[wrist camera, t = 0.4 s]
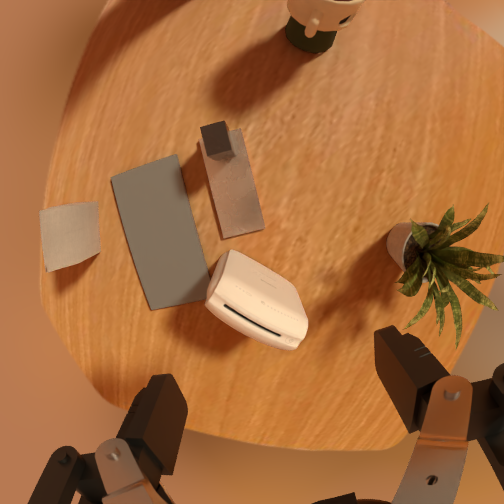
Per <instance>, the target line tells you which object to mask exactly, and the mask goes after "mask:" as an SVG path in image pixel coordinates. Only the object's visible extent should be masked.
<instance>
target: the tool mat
mask: <svg viewBox="0 0 504 504" xmlns="http://www.w3.org/2000/svg"><path fill="white" fill-rule="evenodd" d="M111 180H112V185H113V189H114V193H115V197H116V201H117V205H118V208H119V212H120V216H121V219H122V223H123V227H124V230H125V234H126V237H127V240H128V244H129V247H130V250H131V253H132V256H133V260H134V263H135V266H136V269H137V272H138V275H139V278H140V280H141V283H142V286H143V289H144V292H145V295H146V297H147V300H148V303H149V305H150V308H151V310H155V309H160V308H165V307H170V306H175V305H180V304H185V303H190V302H195V301H200V300H205V299H207V289H208V286H209V283H210V281H211V278H210V275H209V272H208V268H207V265H206V261H205V258H204V254H203V251H202V247H201V244H200V240H199V237H198V233H197V230H196V226H195V222H194V219H193V215H192V211H191V207H190V204H189V200H188V196H187V192H186V188H185V184H184V180H183V177H182V173H181V169H180V164H179V160H178V156H177V154H175V155H172V156H169V157H166V158H163V159H160V160H157V161H154V162H151V163H148V164H145V165H142V166H139V167H137V168H134V169H131V170H129V171H126V172H123V173H121V174H118V175H115V176H113V177H111Z"/></svg>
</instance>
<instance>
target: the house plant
mask: <svg viewBox="0 0 504 504" xmlns="http://www.w3.org/2000/svg"><path fill="white" fill-rule="evenodd" d="M488 204H489V203H488ZM488 204H487V205H486V207H485V208H484V209H483V211H482V212H481V213H480V214H479V215H478V216H477V217H476V218H475V219H474V220H473V221H472V222H471V223H469V224H468V225H467V226H466V227H464V228H463V229H462V230H460V231H458V232H456V233H455V234H453V235H451V236H450V234H451V232H453V231H455V230H456V229H458V228H460V227H462V226H464V225H465V224H467V223H468V222H469V221H470V220H471V219H467V220H465V221H463V222H458V223H454V224H452V223H453V221H454V206H453V207H451V208H450V209H449V210H448V211H447V212H446V213H445V215H444V217H443V219H442V220H441V223H440V225H437V224H435V223H427V222H424V223H415V222H413V221H412V220H411V222H412V223H400V224H397V225H396V226H394V227H393V229H392V230H391V232H390V233H389V235H388V238H387V243H386V245H387V250H388V253H389V255H390V256H391V257H392V258H393V259H394V261H395V262H396V263H397V264H398V265H399V267H400V268H401V269H402V270H403V271H404V274H403V275H402V277H401V278H400V279H399V280H398V281H397V282H395V283H403V284H404V285H403V287H402V288H401V289H399V290H397V291H399V292H401V293H402V294H404V295H406V296H408V297H412V296H415V295H416V294H417V293H418V291H419V289H420V287H421V285H422V283H424V282H428V281H429V288H428V293H427V297H426V299H425V301H424V303H423V305H422V307H421V309H420V311H419V312H418V314H417V315H416V316H415V317H414V318H413V319H412V320H411V321H410V322H409V323H408V324H407V326H406V327H405V328H404V329H406V328H408V327H410V326H411V325H413V324H415V323H416V322H417V321H419V320H420V319H421V318H422V317H423V316H424V315H425V314H426V313H427V311H428V310H429V308H430V306H431V304H432V301H433V295H434V300H435V308H436V312H437V319H436V323H437V324H438V321H439V320H440V330H439V336H440V334H441V332H442V330H443V326H444V319H445V315H444V307H446V306H447V305H448V303H449V301H450V303H451V307H452V311H453V316H454V324H455V328H456V343H455V344H456V349H457V346H458V343H459V340H460V337H461V331H462V315H461V308H460V304H459V300H458V298H457V296H456V294H455V293H454V291H453V289H452V287H451V285H450V283H449V280H450V281H451V282H453V283H454V284H456V285H457V286H458V287H459V288H460V289H461V290H462V291H463V292H465V293H466V294H467V295H468V296H469V297H471V298H472V299H473V300H474V301H476V302H477V303H479V304H482V305H485V306H488V307H489V308H491V309H493V310H498V309H497V308H496V306H495V305H494V303H493V302H492V301H491V300H490V299H489V298H487V297H486V296H485V295H484V294H482V293H481V292H480V291H479V290H477V289H476V288H475V287H474V286H473V285H472V284H471V283H470V282H469V281H467V280H465V279H471V280H474V281H475V282H477V283H479V284H481V283H480V281H481V280H487V279H492V278H495V277H496V278H497V276H499V275H500V274H494V272H493V271H492V270H491V268H490V267H489V266H491V265H493V264H496V263H501V262H504V256H501V255H494V254H486V253H478V252H474V251H472V250H470V249H467V248H464V247H450V245H452V244H453V243H455V242H458V241H460V240H462V239H464V238H466V237H467V236H469V235H470V234H472V233H473V232H474V231H475V230H476V229H477V228H478V227H479V225H480V223H481V221H482V220H483V218H484V217H485V215H486V213H487V209H488ZM471 266H476V267H480V268H477V269H472V267H471ZM482 267H486V268H487V270H488V271H489V272H490V273H491V274H488V275H483V274H478V273H474V272H473V271H477V270H480V269H481V268H482ZM435 277H436V280H437V282H438V285H439V288H440V291H439V290H438V288H437V285H436V283H435V281H434V280H435ZM439 292H441V296H440V293H439ZM404 329H403V330H404Z"/></svg>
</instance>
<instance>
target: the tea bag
mask: <svg viewBox="0 0 504 504" xmlns="http://www.w3.org/2000/svg"><path fill="white" fill-rule="evenodd" d="M39 213H40V228H41V239H42V248H43V256H44V263H45V270H46V272H48V273H49V272H52V271H54V270H58V269H61V268H64V267H68V266H71V265H75V264H78V263H80V262H82V261H84V260H86V259H88V258H90V257H92V256H94V255H96V254H97V253H99V252H101V246H100V233H99V214H98V201H95V202H76V203H71V204H65V205H60V206H55V207H50V208H47V209H44V210H41V211H39Z"/></svg>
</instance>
